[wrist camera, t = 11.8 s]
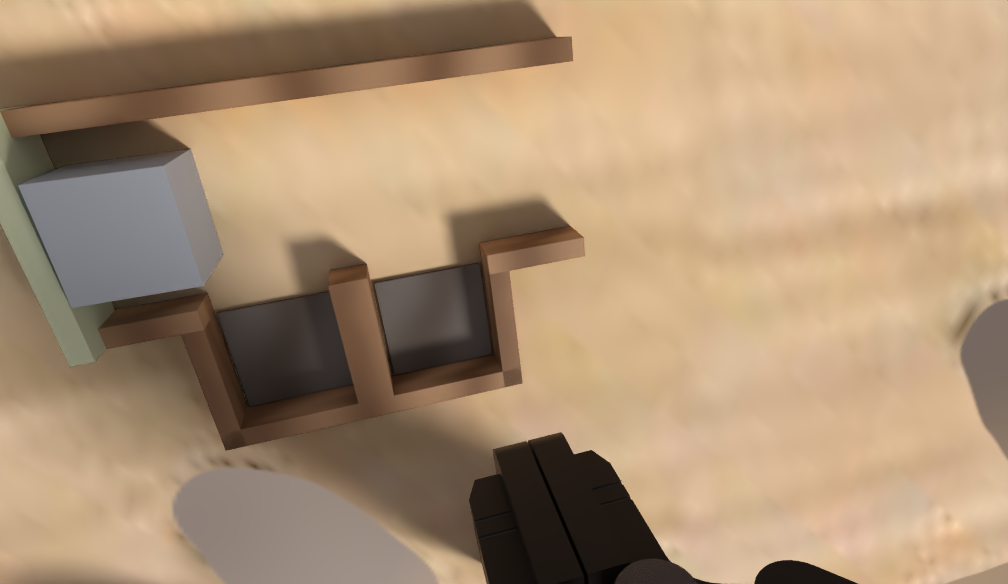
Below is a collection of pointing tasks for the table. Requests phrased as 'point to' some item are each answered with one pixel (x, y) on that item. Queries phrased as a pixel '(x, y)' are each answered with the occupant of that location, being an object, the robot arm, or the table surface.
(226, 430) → the trap lane
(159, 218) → the block
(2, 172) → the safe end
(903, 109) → the table surface
